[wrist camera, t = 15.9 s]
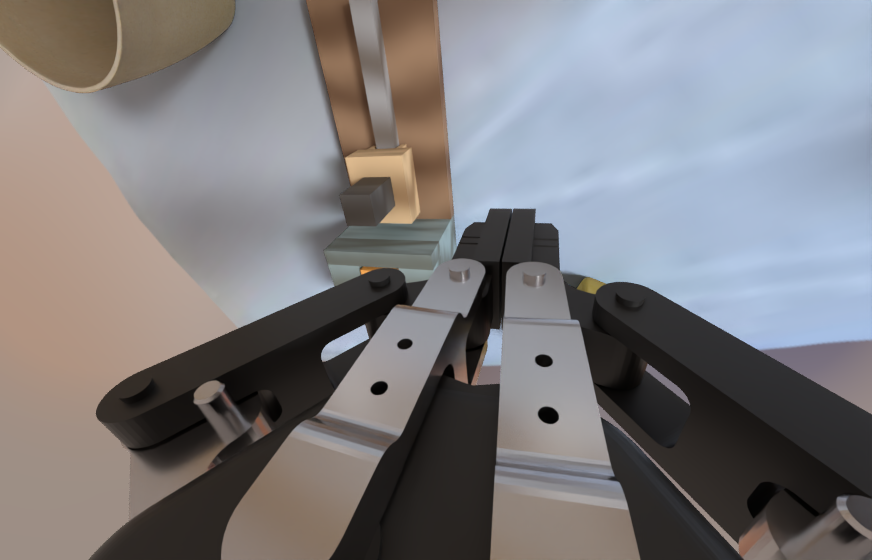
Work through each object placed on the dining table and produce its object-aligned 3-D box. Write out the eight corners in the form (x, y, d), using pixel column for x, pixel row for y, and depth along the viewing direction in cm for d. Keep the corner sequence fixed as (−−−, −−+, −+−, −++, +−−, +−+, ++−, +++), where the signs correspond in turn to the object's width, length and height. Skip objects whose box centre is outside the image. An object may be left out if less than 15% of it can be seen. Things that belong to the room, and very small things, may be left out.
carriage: (364, 146, 38) (318, 173, 31) (416, 143, 37) (381, 171, 29) (376, 206, 42) (338, 244, 35) (424, 207, 40) (395, 246, 33)
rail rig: (313, -5, 33) (238, -17, 25) (434, -27, 30) (392, -49, 22) (375, 265, 50) (342, 309, 42) (458, 270, 46) (439, 318, 38)
